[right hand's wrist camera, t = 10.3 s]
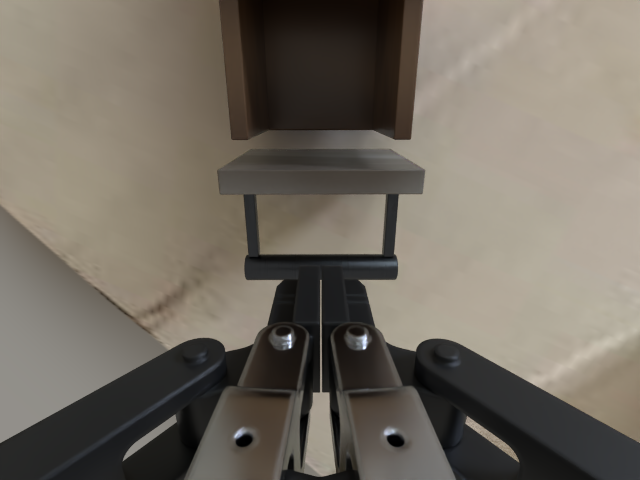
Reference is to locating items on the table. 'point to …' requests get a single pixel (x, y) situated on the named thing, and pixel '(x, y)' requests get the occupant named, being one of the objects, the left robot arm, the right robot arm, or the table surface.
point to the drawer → (321, 111)
